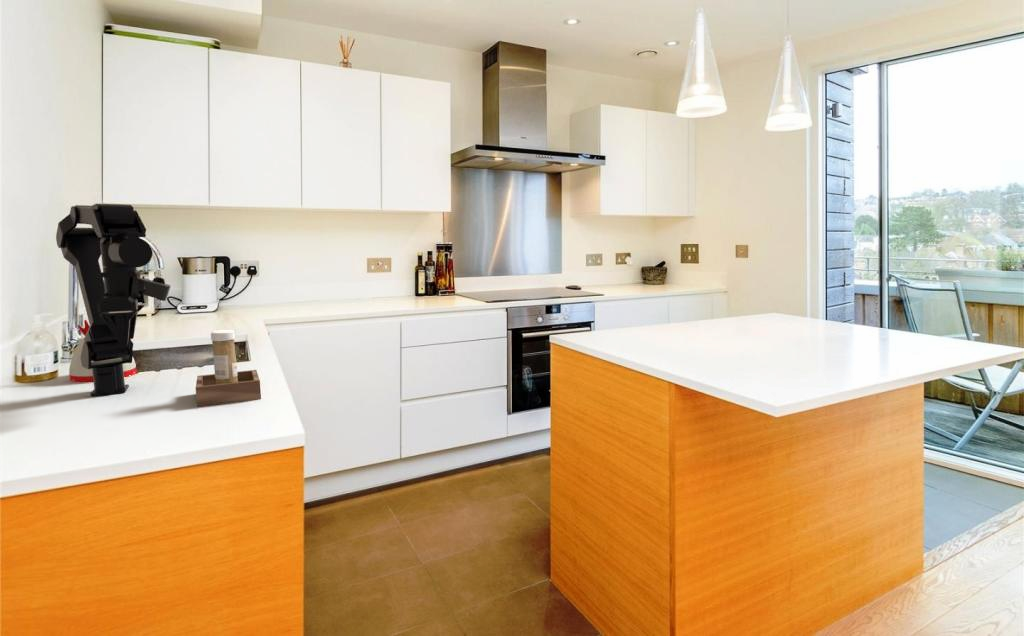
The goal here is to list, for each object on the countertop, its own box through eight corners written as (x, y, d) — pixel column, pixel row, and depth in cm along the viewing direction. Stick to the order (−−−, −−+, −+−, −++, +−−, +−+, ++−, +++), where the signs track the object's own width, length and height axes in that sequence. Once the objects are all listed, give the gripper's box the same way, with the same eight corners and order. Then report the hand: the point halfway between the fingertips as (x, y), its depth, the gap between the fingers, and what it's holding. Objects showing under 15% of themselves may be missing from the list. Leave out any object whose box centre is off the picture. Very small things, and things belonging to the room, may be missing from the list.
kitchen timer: (75, 374, 149) (68, 317, 147) (138, 368, 155) (132, 313, 153) (65, 385, 137) (58, 323, 135) (134, 378, 143) (128, 319, 141)
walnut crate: (198, 393, 128) (197, 375, 127) (257, 386, 133) (256, 369, 133) (197, 406, 117) (195, 387, 117) (261, 398, 123) (259, 380, 122)
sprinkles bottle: (243, 390, 126) (238, 329, 124) (224, 395, 122) (219, 333, 120) (230, 388, 128) (225, 328, 126) (211, 393, 124) (205, 331, 122)
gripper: (161, 266, 112) (169, 345, 114) (168, 264, 129) (175, 332, 131) (92, 268, 107) (101, 351, 109) (109, 265, 124) (116, 337, 126)
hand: (127, 342), depth 119 cm, fingers open, 9 cm apart
